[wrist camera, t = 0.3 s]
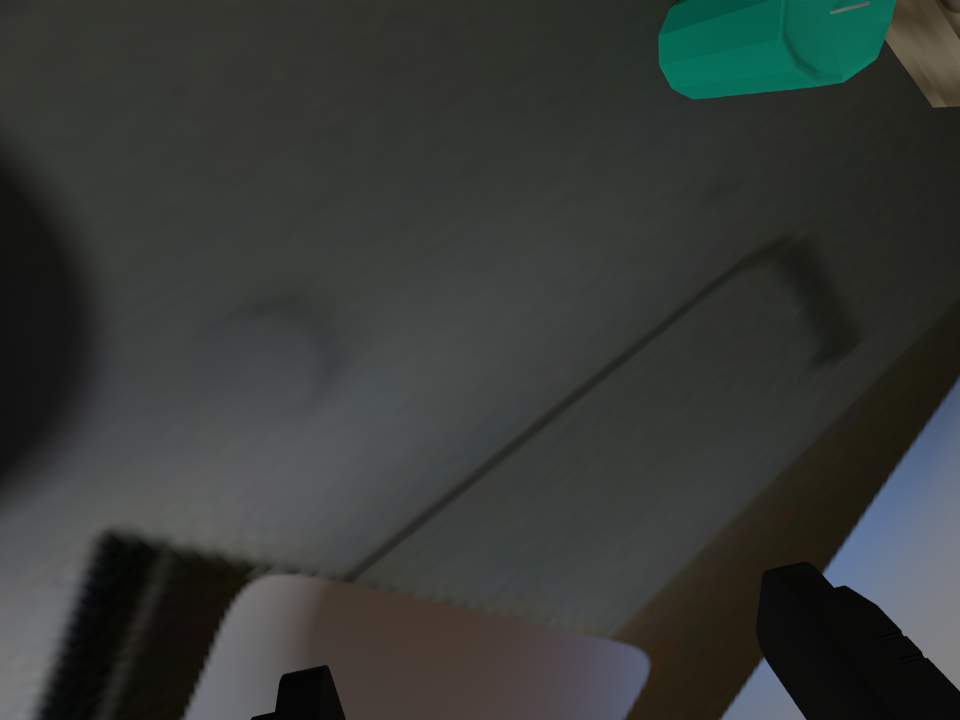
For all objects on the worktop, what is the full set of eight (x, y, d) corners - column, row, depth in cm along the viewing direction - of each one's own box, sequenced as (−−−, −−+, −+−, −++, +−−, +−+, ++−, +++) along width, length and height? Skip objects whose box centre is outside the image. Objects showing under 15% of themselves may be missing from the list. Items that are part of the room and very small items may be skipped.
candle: (647, 92, 36) (784, 72, 25) (670, -25, 34) (828, -101, 23) (736, 106, 37) (902, 94, 26) (762, -5, 35) (953, -68, 24)
